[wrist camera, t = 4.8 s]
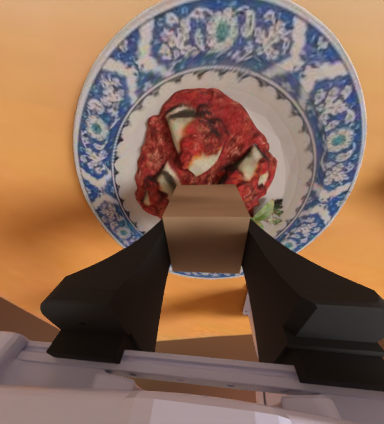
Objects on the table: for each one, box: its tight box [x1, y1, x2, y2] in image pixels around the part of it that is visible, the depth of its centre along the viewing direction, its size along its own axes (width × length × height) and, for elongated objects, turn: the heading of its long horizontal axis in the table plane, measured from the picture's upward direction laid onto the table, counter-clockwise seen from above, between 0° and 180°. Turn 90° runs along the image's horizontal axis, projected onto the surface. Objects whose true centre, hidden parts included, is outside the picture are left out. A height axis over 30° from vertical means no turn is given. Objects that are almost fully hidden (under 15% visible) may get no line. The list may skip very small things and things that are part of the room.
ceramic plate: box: [73, 0, 367, 279], centre depth 15 cm, size 26×26×3 cm
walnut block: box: [162, 184, 250, 274], centre depth 11 cm, size 4×4×4 cm
